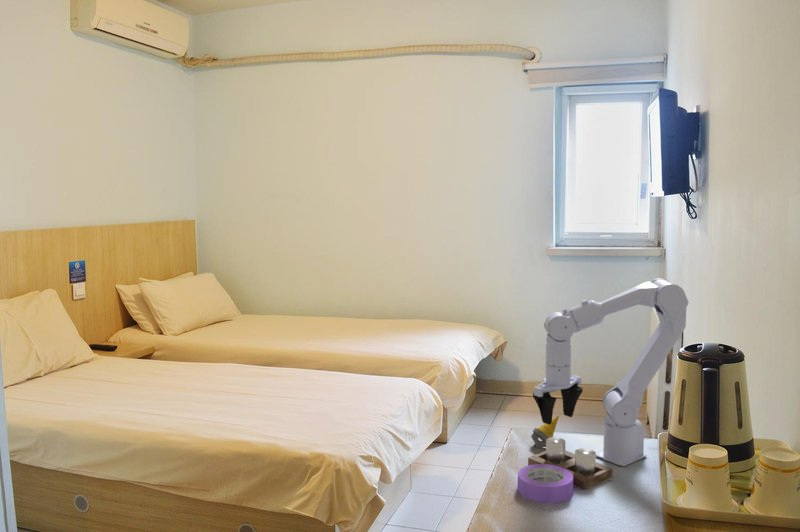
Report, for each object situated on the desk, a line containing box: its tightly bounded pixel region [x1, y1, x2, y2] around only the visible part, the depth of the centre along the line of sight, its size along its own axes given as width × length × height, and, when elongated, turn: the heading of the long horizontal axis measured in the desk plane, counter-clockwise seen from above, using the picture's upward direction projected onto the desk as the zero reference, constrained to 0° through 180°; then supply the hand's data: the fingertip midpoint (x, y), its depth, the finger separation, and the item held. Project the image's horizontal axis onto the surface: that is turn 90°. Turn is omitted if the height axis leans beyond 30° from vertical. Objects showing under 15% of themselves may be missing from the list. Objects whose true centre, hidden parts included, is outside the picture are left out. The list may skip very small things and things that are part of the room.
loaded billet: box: [545, 436, 566, 464], centre depth 164 cm, size 4×4×6 cm
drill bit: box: [530, 415, 560, 448], centre depth 177 cm, size 5×5×10 cm
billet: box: [574, 447, 597, 477], centre depth 158 cm, size 4×4×6 cm
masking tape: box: [517, 464, 574, 504], centre depth 152 cm, size 12×12×4 cm
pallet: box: [527, 449, 614, 491], centre depth 161 cm, size 10×16×2 cm, turn 37°
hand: (557, 419), depth 168 cm, fingers open, 7 cm apart
